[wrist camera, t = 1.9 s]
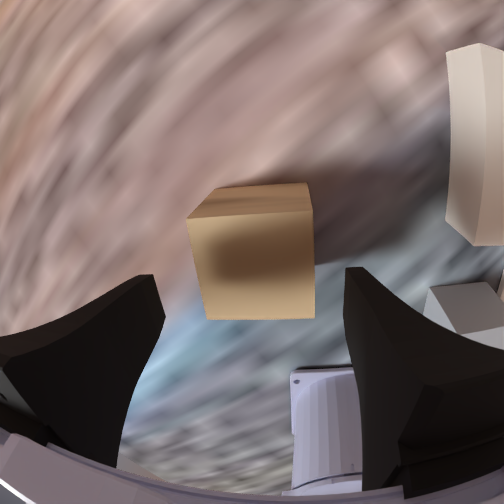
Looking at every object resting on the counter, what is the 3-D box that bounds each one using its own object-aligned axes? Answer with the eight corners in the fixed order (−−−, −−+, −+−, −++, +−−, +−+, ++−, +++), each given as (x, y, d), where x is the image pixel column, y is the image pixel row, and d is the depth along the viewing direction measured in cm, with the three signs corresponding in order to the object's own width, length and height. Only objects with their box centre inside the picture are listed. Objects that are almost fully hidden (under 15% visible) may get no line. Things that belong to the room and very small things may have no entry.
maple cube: (310, 266, 18) (314, 318, 13) (227, 268, 19) (207, 319, 14) (306, 182, 16) (313, 210, 11) (215, 188, 17) (185, 219, 12)
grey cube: (468, 335, 19) (492, 379, 14) (415, 343, 20) (433, 393, 15) (485, 281, 17) (519, 322, 12) (428, 286, 17) (457, 335, 13)
